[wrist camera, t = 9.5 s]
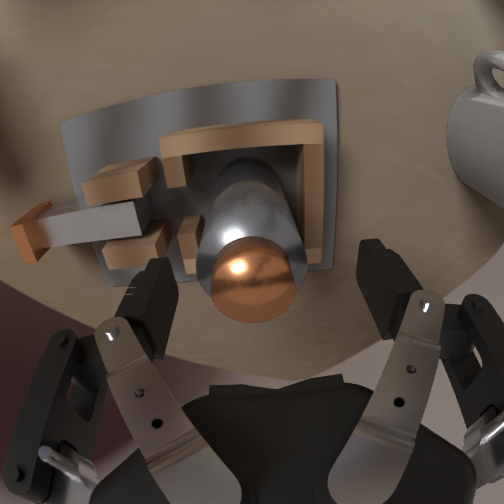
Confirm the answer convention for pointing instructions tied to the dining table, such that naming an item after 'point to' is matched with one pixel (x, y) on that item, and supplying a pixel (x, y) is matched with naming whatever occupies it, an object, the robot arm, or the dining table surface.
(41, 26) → the dining table surface
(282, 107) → the dock
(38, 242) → the pin
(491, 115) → the coffee mug
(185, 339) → the dining table surface
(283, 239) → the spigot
